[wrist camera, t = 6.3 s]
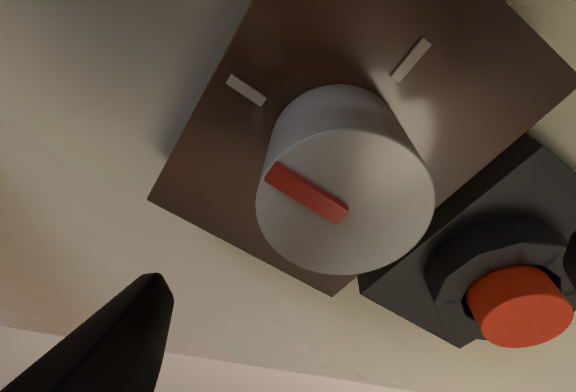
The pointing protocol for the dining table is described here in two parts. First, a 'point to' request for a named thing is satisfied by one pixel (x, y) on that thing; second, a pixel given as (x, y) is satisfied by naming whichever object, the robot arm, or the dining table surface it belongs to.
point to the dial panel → (371, 76)
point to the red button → (518, 306)
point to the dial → (342, 184)
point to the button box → (483, 241)
